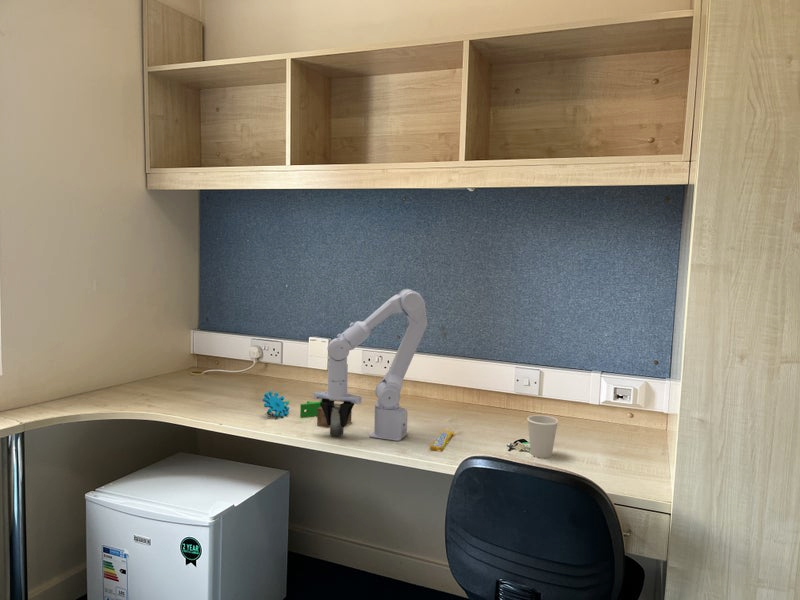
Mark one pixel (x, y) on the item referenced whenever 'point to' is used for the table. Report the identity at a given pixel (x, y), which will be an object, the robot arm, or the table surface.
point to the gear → (276, 404)
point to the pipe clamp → (309, 409)
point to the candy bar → (442, 440)
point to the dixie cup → (542, 435)
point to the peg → (336, 421)
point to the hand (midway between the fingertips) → (336, 425)
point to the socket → (322, 419)
